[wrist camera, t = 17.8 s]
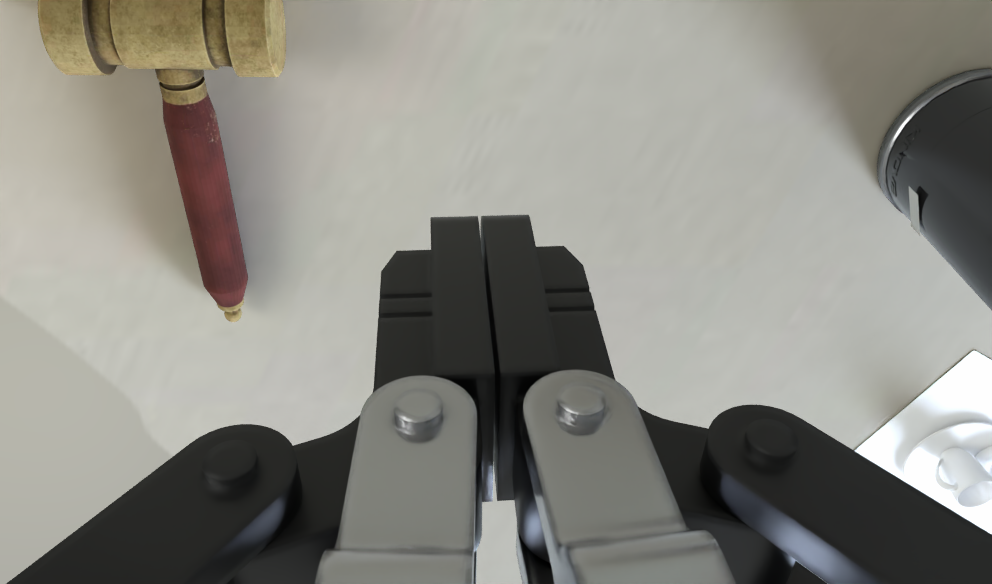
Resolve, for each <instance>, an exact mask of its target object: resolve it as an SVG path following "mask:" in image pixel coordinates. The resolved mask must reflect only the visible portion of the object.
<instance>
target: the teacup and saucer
mask: <svg viewBox="0 0 992 584" xmlns="http://www.w3.org/2000/svg"><path fill="white" fill-rule="evenodd" d="M902 474H903V477H904V479H905V481H906V483H908V484H909V485H911V486H913V487H914V488H916V489H918V490H919V491H927V492H942V491H948V492H950V493H951V495H952V497H953V498H954V500H955V502H956V503H957V504H958V505H959V506H960V507H962V508H966V509H972V508H977V507H981V506H983V505H985V504H987V503H989V502H990V501H992V424H991V423H988V422H983V421H967V422H960V423H956V424H952V425H949V426H946V427H944V428H941V429H939V430H937V431H935V432H933V433H931V434H930V435H928V436H926V437H925V438H924V439H922V440H921V441H920V442H919V443H917V444H916V445H915V446H914V447H913V448H912V449H911V451H910V452H909V453H908V455H907V456H906V458H905V460H904V462H903V466H902Z"/></svg>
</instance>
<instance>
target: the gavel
mask: <svg viewBox="0 0 992 584" xmlns="http://www.w3.org/2000/svg"><path fill="white" fill-rule="evenodd" d="M38 18H39V26H40V31H41V35H42V39H43V42H44V45H45V48H46V50H47V52H48V54H49V56H50V58H51V59H52V61H53V62H54V64H55V65H56V67H57V68H58V69H59V70H60V71H61V72H62V73H64V74H66V75H110V74H112V73H113V72H114V71H115V69H116V67H117V65H125V66H126V67H127V68H130V69H155V71H156V75H157V79H158V80H159V81H160V82H159V85H160V89H161V93H162V97H163V118H164V124H165V128H166V132H167V136H168V141H169V145H170V149H171V153H172V157H173V161H174V165H175V169H176V173H177V177H178V182H179V186H180V190H181V194H182V198H183V202H184V206H185V210H186V214H187V218H188V222H189V227H190V231H191V235H192V239H193V243H194V247H195V251H196V255H197V259H198V263H199V268H200V272H201V276H202V280H203V284H204V287H205V288H206V290H207V291H208V292H209V293H210V295H211V296H212V297H213V299H214V300H215V301H216V302H217V305H218V307H219V308H220V309H221V310H223V311H225V313H224V314H225V317H226V319H227V320H228V321H230V322H236V321H238V320H239V319H240V318H241V315H242V312H241V309H240V308H241V306H242V305H243V303H244V298H243V297H244V293H245V289H246V284H247V280H248V275H247V270H246V265H245V260H244V255H243V250H242V245H241V240H240V235H239V230H238V225H237V219H236V214H235V209H234V204H233V199H232V194H231V189H230V184H229V179H228V174H227V169H226V163H225V158H224V153H223V148H222V143H221V138H220V133H219V128H218V123H217V118H216V113H215V110H214V108H213V105H212V103H211V100H210V98H209V95H208V93H207V89H206V84H205V79H204V77H203V75H204V71H203V70H217V69H219V67H220V66H233V68H234V70H235V72H236V74H237V75H238V76H240V77H278V76H279V75H280V74H281V72H282V71H283V68H284V64H285V54H286V31H285V17H284V9H283V2H282V0H38Z"/></svg>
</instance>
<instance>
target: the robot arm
mask: <svg viewBox="0 0 992 584" xmlns="http://www.w3.org/2000/svg"><path fill="white" fill-rule="evenodd" d="M877 175H878V180H879V184H880V187H881V189H882V191H883V193H884V194H885V196H886V197H887V198H888V200H889V201H890V202H891V203H892V204H893V205H894V206H895V207H896V208H897V209H898V210H899V211H900V212H902V213H903V214H904V215H905V216H906V217H907V218H908V219H909V220H910V221H911V227H912V228H913V229H914V230H915V231H916V232H917V233H918V234H919V235H920V233H921V234H922V235H923V236H924V237H925V238H926V239H927V240H928V241H929V242H930V243H931V245H932V246H933V247H934V248H935V249H936V250H937V251H938V252H939V253H940V254H941V255H942V257H943V258H944V259H945V260H946V261H947V262H948V263H949V264H950V265H951V266H952V267H953V269H954V270H955V271H956V272H957V273H958V274H959V275H960V276H961V277H962V278H963V279H964V281H965V282H966V283H967V284H968V285H969V286H970V287H971V288H972V289H973V290H974V291H975V293H976V294H977V295H978V296H979V297H980V298H981V299H982V300H983V301H984V302H985V303H986V305H987V306H988V307H989V308H990V309H991V310H992V69H980V70H973V71H969V72H965V73H961V74H958V75H955V76H953V77H950V78H948V79H946V80H944V81H942V82H940V83H938V84H936V85H934V86H933V87H931V88H929V89H928V90H927V91H925V92H924V93H922V94H921V95H920V96H919V97H917V98H916V99H915V100H914V101H913V102H912V103H910V104H909V105H908V106H907V107H906V108H905V109H904V111H903V112H902V113H901V114H900V115H899V116H898V118H897V119H896V120H895V122H894V123H893V125H892V126H891V128H890V129H889V131H888V133H887V135H886V137H885V139H884V141H883V143H882V146H881V149H880V152H879V157H878V164H877ZM493 461H494V472H495V482H496V493H497V501H502V500H515V508H516V517H517V538H516V552H517V559H518V564H519V569H520V574H521V579H522V584H827V583H828V584H992V534H990V533H988V532H987V531H985V530H983V529H982V528H980V527H979V526H977V525H975V524H974V523H972V522H970V521H969V520H967V519H965V518H964V517H962V516H960V515H959V514H957V513H956V512H954V511H952V510H951V509H949V508H947V507H946V506H944V505H942V504H941V503H939V502H937V501H936V500H934V499H932V498H931V497H929V496H928V495H926V494H924V493H923V492H921V491H919V490H918V489H916V488H914V487H913V486H911V485H909V484H908V483H906V482H904V481H903V480H901V479H900V478H898V477H896V476H895V475H893V474H891V473H890V472H888V471H886V470H885V469H883V468H881V467H880V466H878V465H877V464H875V463H873V462H872V461H870V460H868V459H867V458H865V457H863V456H862V455H860V454H858V453H857V452H855V451H853V450H852V449H850V448H849V447H847V446H845V445H844V444H842V443H840V442H839V441H837V440H835V439H834V438H832V437H830V436H829V435H827V434H825V433H824V432H822V431H821V430H819V429H817V428H816V427H814V426H812V425H811V424H809V423H807V422H806V421H804V420H802V419H801V418H799V417H797V416H795V415H793V414H791V413H789V412H786V411H784V410H781V409H778V408H774V407H770V406H763V405H742V406H737V407H733V408H730V409H728V410H726V411H724V412H722V413H721V414H719V415H718V416H717V417H716V418H715V419H714V420H713V422H712V423H711V425H710V427H709V429H707V428H702V427H698V426H693V425H688V424H683V423H678V422H673V421H670V420H666V419H662V418H660V417H657V416H654V415H652V414H650V413H648V412H646V411H644V410H642V409H641V408H639V407H638V406H637V404H636V402H635V400H634V398H633V396H632V395H631V394H630V392H629V391H628V390H627V389H626V388H625V387H624V386H622V385H621V384H620V383H618V382H617V381H616V380H615V378H614V374H613V371H612V367H611V364H610V360H609V356H608V353H607V349H606V346H605V342H604V339H603V335H602V331H601V328H600V324H599V321H598V317H597V314H596V311H595V310H594V303H593V299H592V296H591V292H589V285H588V281H587V278H586V274H585V271H584V267H583V265H582V264H581V263H580V262H579V261H578V260H577V259H576V258H575V257H574V256H573V255H572V254H571V253H570V252H569V251H568V250H567V249H566V248H565V247H564V246H549V247H536V246H535V241H534V236H533V231H532V226H531V221H530V217H529V215H501V216H481V240H480V231H479V222H478V216H468V217H431V250H413V251H396V253H395V254H394V255H393V257H392V258H391V259H390V261H389V262H388V263H387V265H386V266H385V267H384V269H383V270H382V271H381V286H380V301H379V318H378V332H377V347H376V362H375V377H374V389H373V394H372V395H371V396H370V397H369V398H368V399H367V401H366V402H365V404H364V406H363V408H362V411H361V414H360V416H359V417H357V418H356V419H355V420H354V421H353V422H352V423H350V424H349V425H347V426H345V427H344V428H342V429H340V430H338V431H336V432H334V433H332V434H329V435H327V436H324V437H321V438H318V439H314V440H311V441H308V442H304V443H301V444H298V445H294V446H292V444H291V443H290V441H289V440H288V439H287V438H286V437H285V436H284V435H282V434H281V433H279V432H278V431H276V430H273V429H271V428H268V427H265V426H260V425H252V424H241V425H233V426H228V427H224V428H220V429H217V430H214V431H212V432H209V433H207V434H205V435H203V436H201V437H199V438H198V439H196V440H195V441H193V442H192V443H190V444H189V445H188V446H186V447H185V448H184V449H183V450H181V451H180V452H179V453H177V454H176V455H175V456H173V457H172V458H171V459H169V460H168V461H167V462H165V463H164V464H163V465H162V466H160V467H159V468H158V469H156V470H155V471H154V472H152V473H151V474H150V475H148V477H146V478H144V479H143V480H142V481H141V482H139V483H138V484H137V485H136V486H134V487H133V488H132V489H130V490H129V491H127V492H126V493H125V494H123V495H122V496H121V497H120V498H118V499H117V500H116V501H114V502H113V503H112V504H110V505H109V506H108V507H106V508H105V509H104V510H103V511H101V512H100V513H99V514H97V515H96V516H95V517H93V518H92V519H91V520H89V521H88V522H87V523H85V524H84V525H83V526H81V527H80V528H79V529H78V530H76V531H75V532H74V533H72V534H71V535H70V536H68V537H67V538H66V539H64V540H63V541H62V542H60V543H59V544H58V545H57V546H55V547H54V548H53V549H51V550H50V551H49V552H47V553H46V554H45V555H43V556H42V557H41V558H39V559H38V560H37V561H36V562H34V563H33V564H32V565H31V566H29V567H28V568H26V569H25V570H24V571H22V572H21V573H20V574H18V575H17V576H16V577H15V578H13V579H12V580H11V581H9V582H8V583H7V584H476V562H477V547H478V545H479V543H480V539H481V535H482V502H488V501H492V493H493ZM797 561H798V562H799V563H798V562H797ZM801 564H802V565H803V566H802V565H801ZM804 566H805V567H806V568H805V567H804ZM808 569H809V570H810V571H809V570H808ZM811 571H812V572H813V573H814V574H813V573H812V572H811ZM815 574H816V575H817V576H816V575H815ZM819 577H820V578H821V579H820V578H819ZM822 579H823V580H824V581H823V580H822ZM826 582H827V583H826Z"/></svg>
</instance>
